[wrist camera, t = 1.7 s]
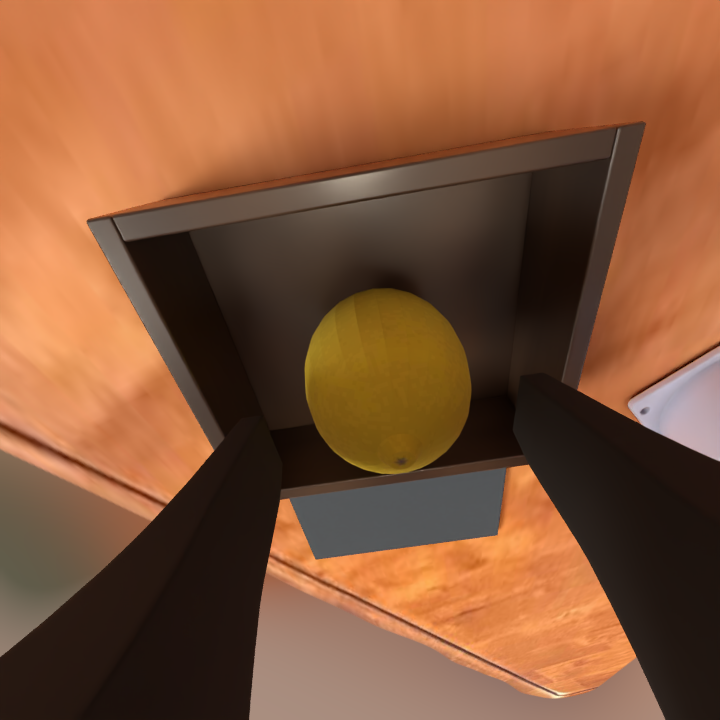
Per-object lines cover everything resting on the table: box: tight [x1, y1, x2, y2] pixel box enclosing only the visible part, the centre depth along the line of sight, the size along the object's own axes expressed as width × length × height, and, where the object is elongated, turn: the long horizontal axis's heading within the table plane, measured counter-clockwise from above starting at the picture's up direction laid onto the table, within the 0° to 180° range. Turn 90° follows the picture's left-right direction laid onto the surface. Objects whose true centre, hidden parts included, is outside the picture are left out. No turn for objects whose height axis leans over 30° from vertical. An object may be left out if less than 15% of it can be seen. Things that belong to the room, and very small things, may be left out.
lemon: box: [305, 288, 471, 474], centre depth 12 cm, size 6×6×8 cm
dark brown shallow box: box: [87, 121, 646, 500], centre depth 13 cm, size 14×12×4 cm
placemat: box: [289, 468, 506, 559], centre depth 22 cm, size 14×12×1 cm
